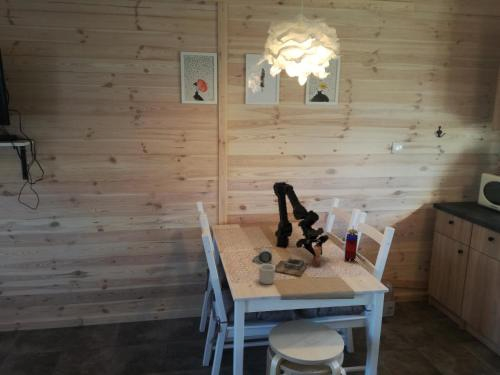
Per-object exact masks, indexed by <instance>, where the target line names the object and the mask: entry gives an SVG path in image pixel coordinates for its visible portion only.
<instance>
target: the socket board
mask: <svg viewBox="0 0 500 375" xmlns="http://www.w3.org/2000/svg"><path fill="white" fill-rule="evenodd" d="M274 266H275V273H277V274H283V275H287V276H292V277H298V278H301V277H302V275H303V274H304V273H305V271H306V269H308V265H307V264H305V260H303V259H297V258H292V257H288V259H286V261H285V260H280V261H279V262H278V263H276V265H274Z"/></svg>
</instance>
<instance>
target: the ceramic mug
mask: <svg viewBox="0 0 500 375" xmlns="http://www.w3.org/2000/svg"><path fill="white" fill-rule="evenodd" d="M252 261H253V262H255V263H257V262H259V264H260V263H261V264H271V262H272V261H273V253H272V250H271V249H270V247H269V248H268V247H265V246H264V247H262V248H260V250H259V251H258V254H257V255H255V256H254V257H252Z"/></svg>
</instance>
